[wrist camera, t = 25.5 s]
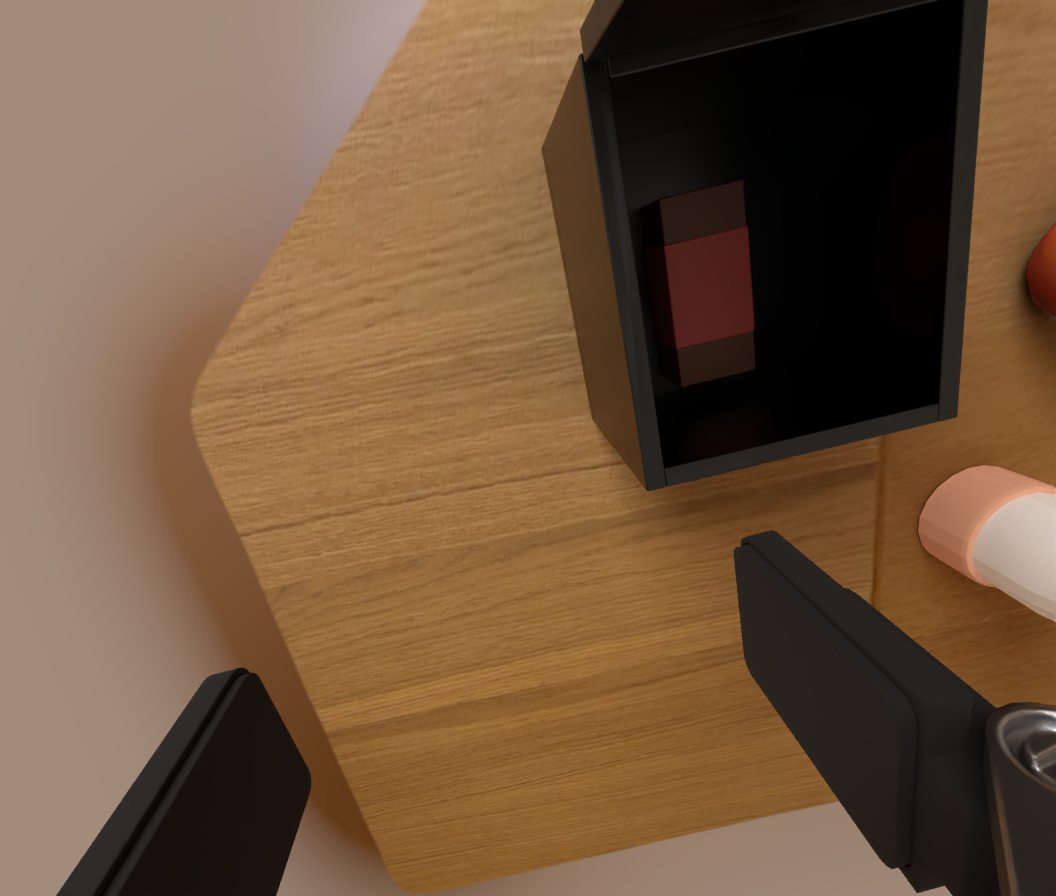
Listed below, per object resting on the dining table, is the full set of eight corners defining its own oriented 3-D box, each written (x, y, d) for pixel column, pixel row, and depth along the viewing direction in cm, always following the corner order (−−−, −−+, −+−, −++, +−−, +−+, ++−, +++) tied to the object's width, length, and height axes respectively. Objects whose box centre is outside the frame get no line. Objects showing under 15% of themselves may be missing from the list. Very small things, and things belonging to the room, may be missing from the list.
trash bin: (795, 370, 30) (958, 417, 19) (592, 419, 30) (647, 491, 19) (784, 89, 25) (992, -45, 15) (541, 147, 25) (579, 53, 14)
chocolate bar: (730, 360, 28) (758, 370, 25) (660, 377, 28) (680, 388, 25) (715, 189, 25) (745, 177, 22) (638, 208, 25) (657, 198, 22)
